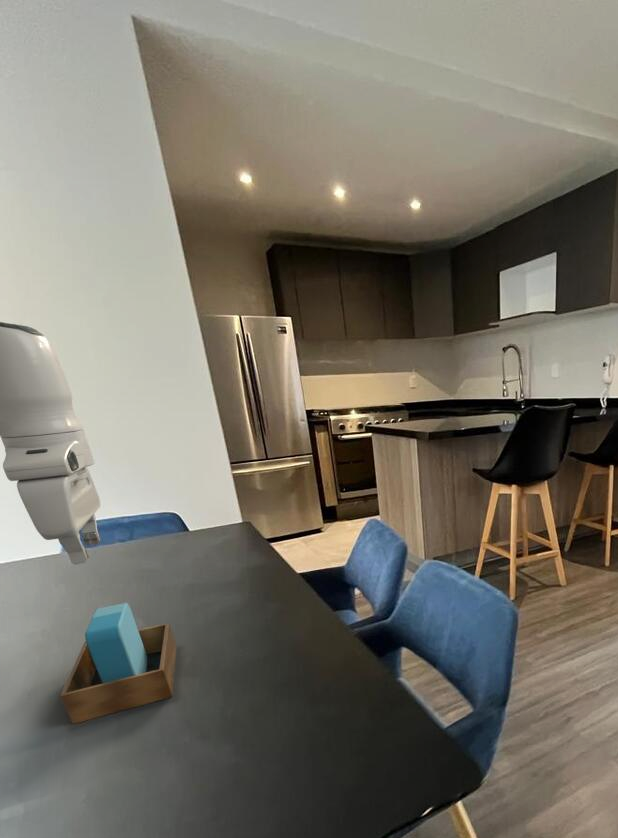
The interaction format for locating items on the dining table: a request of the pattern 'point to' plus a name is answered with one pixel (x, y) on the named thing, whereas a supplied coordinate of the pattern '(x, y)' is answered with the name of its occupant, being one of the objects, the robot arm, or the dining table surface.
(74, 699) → the wooden box
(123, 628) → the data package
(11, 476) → the robot arm
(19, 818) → the dining table surface
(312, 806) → the dining table surface
